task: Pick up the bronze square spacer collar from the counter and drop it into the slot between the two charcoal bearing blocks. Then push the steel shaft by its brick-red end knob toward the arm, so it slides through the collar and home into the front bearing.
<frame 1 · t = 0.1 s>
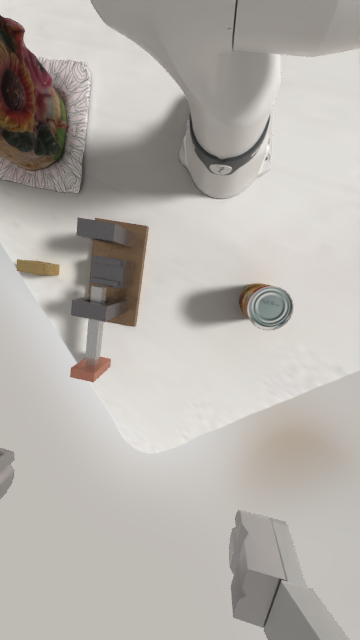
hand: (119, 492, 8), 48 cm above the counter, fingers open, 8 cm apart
shaft: (95, 330, 50), point 9 cm above the counter, slide at 0.0 cm
spacer: (47, 268, 58), on the counter
shaft rig: (118, 272, 56), on the counter
canned food: (256, 300, 53), on the counter
cookie jar: (37, 128, 52), on the counter
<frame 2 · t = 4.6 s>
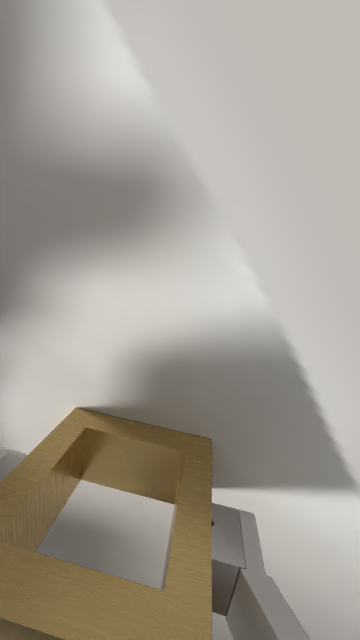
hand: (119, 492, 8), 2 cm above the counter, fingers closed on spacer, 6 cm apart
spacer: (138, 447, 10), on the counter, touching gripper
when the fingers open (10 cm above the counter, at t = 10.1 s): spacer stays where it is, resting on shaft rig.
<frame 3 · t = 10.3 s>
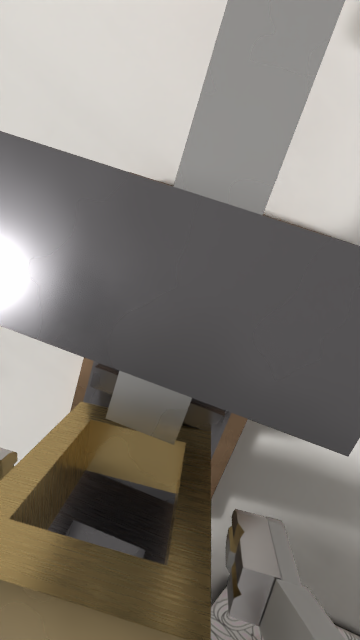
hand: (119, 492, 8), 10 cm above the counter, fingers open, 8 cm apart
shaft: (254, 101, 6), point 9 cm above the counter, slide at 0.0 cm
spacer: (140, 440, 11), point 7 cm above the counter, touching shaft rig
shaft rig: (168, 375, 17), on the counter
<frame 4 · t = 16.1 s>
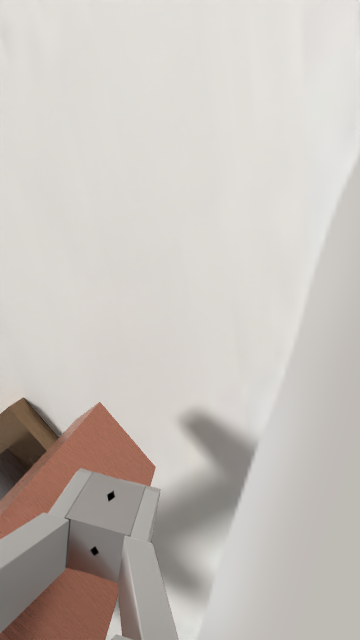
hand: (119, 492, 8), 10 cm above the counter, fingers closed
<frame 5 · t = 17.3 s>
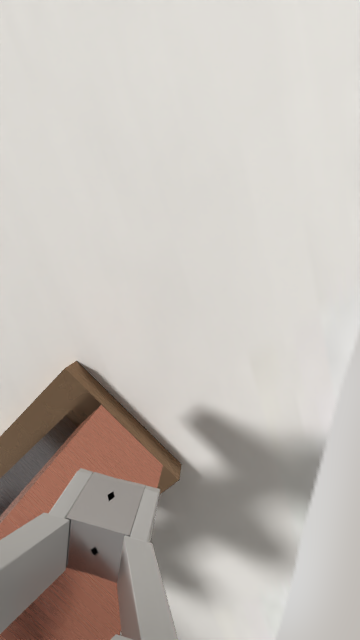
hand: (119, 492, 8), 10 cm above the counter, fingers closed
shaft rig: (44, 488, 22), on the counter
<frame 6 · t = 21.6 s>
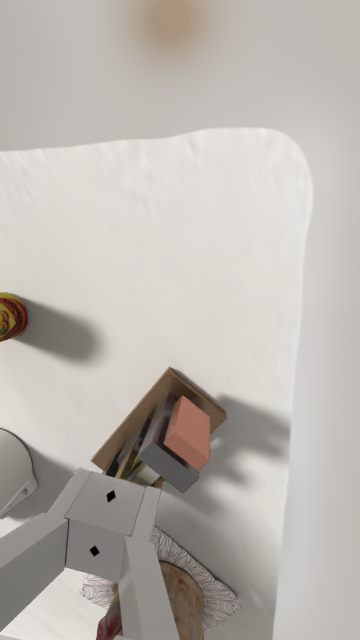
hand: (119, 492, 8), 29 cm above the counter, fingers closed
shaft: (151, 468, 32), point 9 cm above the counter, slide at 9.7 cm
spacer: (144, 464, 35), point 6 cm above the counter, touching shaft rig
shaft rig: (154, 436, 41), on the counter
canned food: (9, 315, 41), on the counter
cookie jar: (158, 585, 48), on the counter
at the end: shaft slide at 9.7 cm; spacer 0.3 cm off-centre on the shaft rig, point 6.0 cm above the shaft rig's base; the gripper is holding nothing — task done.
